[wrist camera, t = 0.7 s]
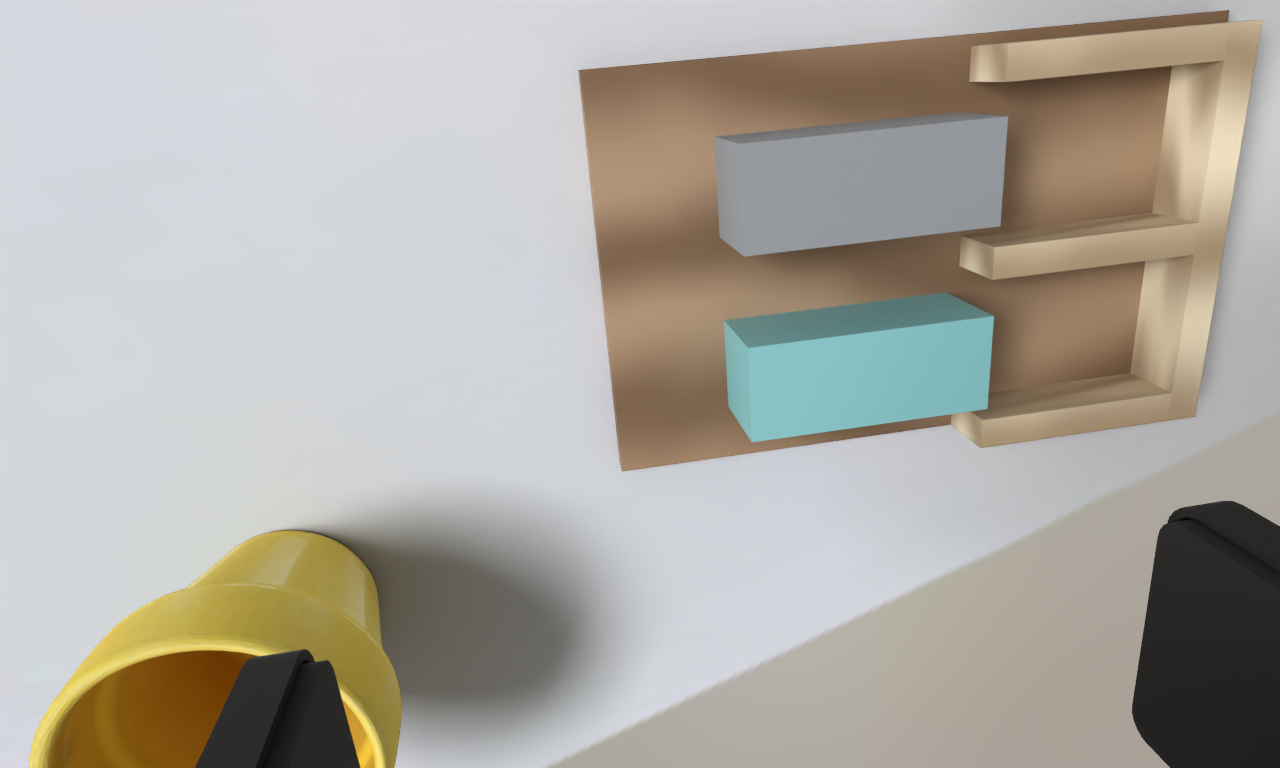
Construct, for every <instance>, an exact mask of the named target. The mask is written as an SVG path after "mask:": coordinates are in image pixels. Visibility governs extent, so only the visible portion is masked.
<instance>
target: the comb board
mask: <svg viewBox="0 0 1280 768" xmlns="http://www.w3.org/2000/svg"><path fill="white" fill-rule="evenodd" d="M1228 14H1229V10H1226V11H1215V12H1205V13H1194V14H1183V15H1172V16H1161V17H1150V18H1140V19H1129V20H1118V21H1107V22H1096V23H1085V24H1075V25H1064V26H1053V27H1042V28H1031V29H1020V30H1010V31H999V32H988V33H977V34H966V35H955V36H945V37H934V38H923V39H912V40H901V41H890V42H880V43H869V44H858V45H847V46H836V47H826V48H815V49H804V50H793V51H782V52H771V53H761V54H750V55H739V56H728V57H717V58H706V59H696V60H685V61H674V62H663V63H652V64H641V65H631V66H620V67H609V68H598V69H587V70H578V71H579V80H580V89H581V99H582V108H583V118H584V127H585V137H586V146H587V156H588V165H589V175H590V184H591V193H592V203H593V212H594V222H595V231H596V241H597V250H598V260H599V269H600V278H601V288H602V297H603V307H604V316H605V326H606V335H607V345H608V354H609V364H610V373H611V382H612V392H613V401H614V411H615V420H616V430H617V439H618V449H619V458H620V465H621V468H622V471H629V470H636V469H643V468H650V467H657V466H664V465H671V464H678V463H685V462H692V461H699V460H706V459H713V458H720V457H727V456H734V455H741V454H748V453H755V452H762V451H769V450H775V449H782V448H789V447H796V446H803V445H810V444H817V443H824V442H831V441H838V440H845V439H852V438H859V437H866V436H873V435H880V434H887V433H894V432H901V431H908V430H915V429H922V428H929V427H936V426H943V425H950V424H951V425H952V426H954V427H955V428H956V429H957V430H959V431H960V432H961V433H962V434H964V435H965V436H966V437H967V438H969V439H970V440H971V441H972V442H974V443H975V444H976V445H977V446H979V447H980V448H985V447H992V446H999V445H1006V444H1012V443H1019V442H1026V441H1033V440H1040V439H1046V438H1053V437H1060V436H1067V435H1074V434H1081V433H1087V432H1094V431H1101V430H1108V429H1115V428H1121V427H1128V426H1135V425H1142V424H1149V423H1155V422H1162V421H1169V420H1176V419H1183V418H1189V417H1195V413H1196V407H1197V401H1198V395H1199V389H1200V384H1201V378H1202V372H1203V366H1204V360H1205V354H1206V348H1207V342H1208V337H1209V331H1210V325H1211V319H1212V313H1213V307H1214V301H1215V295H1216V290H1217V284H1218V278H1219V272H1220V266H1221V260H1222V254H1223V248H1224V243H1225V237H1226V231H1227V225H1228V219H1229V213H1230V207H1231V201H1232V196H1233V190H1234V184H1235V178H1236V172H1237V166H1238V160H1239V154H1240V149H1241V143H1242V137H1243V131H1244V125H1245V119H1246V113H1247V107H1248V101H1249V96H1250V90H1251V84H1252V78H1253V72H1254V66H1255V60H1256V54H1257V49H1258V43H1259V37H1260V31H1261V25H1262V20H1251V21H1239V22H1227V21H1228ZM951 112H960V113H973V114H986V115H999V116H1008V126H1007V140H1006V154H1005V168H1004V182H1003V196H1002V210H1001V224H1000V226H999V227H991V228H982V229H974V230H965V231H957V232H948V233H940V234H931V235H923V236H914V237H906V238H897V239H889V240H880V241H872V242H864V243H855V244H847V245H838V246H830V247H821V248H813V249H804V250H796V251H787V252H779V253H770V254H762V255H753V256H745V257H744V256H743V255H742V254H740V253H739V252H738V251H736V250H735V249H734V248H733V247H731V246H730V245H729V244H727V243H726V242H725V241H724V240H722V239H721V238H720V233H719V214H718V194H717V175H716V156H715V137H716V136H726V135H736V134H746V133H755V132H765V131H775V130H785V129H795V128H804V127H814V126H824V125H834V124H843V123H853V122H863V121H873V120H882V119H892V118H902V117H912V116H922V115H931V114H941V113H951ZM945 292H946V293H948V294H950V295H953V296H955V297H957V298H959V299H961V300H963V301H965V302H967V303H969V304H971V305H973V306H975V307H977V308H979V309H981V310H983V311H985V312H987V313H989V314H991V315H993V316H994V323H993V337H992V351H991V365H990V379H989V393H988V407H987V409H984V410H977V411H970V412H963V413H956V414H949V415H942V416H934V417H927V418H920V419H913V420H906V421H899V422H892V423H885V424H878V425H871V426H864V427H857V428H850V429H843V430H836V431H829V432H822V433H815V434H808V435H801V436H794V437H787V438H779V439H772V440H765V441H758V442H751V440H750V439H749V437H748V436H747V434H746V433H745V431H744V430H743V428H742V426H741V425H740V423H739V422H738V420H737V419H736V417H735V416H734V414H733V413H732V411H731V410H730V408H729V407H728V388H727V369H726V349H725V330H724V320H730V319H738V318H746V317H754V316H762V315H770V314H778V313H786V312H794V311H802V310H810V309H818V308H826V307H833V306H841V305H849V304H857V303H865V302H873V301H881V300H889V299H897V298H905V297H913V296H921V295H929V294H937V293H945Z"/></svg>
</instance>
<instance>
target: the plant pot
mask: <svg viewBox="0 0 1280 768" xmlns="http://www.w3.org/2000/svg"><path fill="white" fill-rule="evenodd" d="M302 649H306V650H308V651H310V653H311V654H312V656H313V658H314V660H315V662H318V661H324V660H328V661H330V663H331V664H332V666H333V669H334V672H335V675H336V679H337V683H338V686H339V690H340V694H341V698H342V701H343V705H344V709H345V712H346V716H347V720H348V723H349V727H350V731H351V734H352V738H353V742H354V745H355V749H356V753H357V757H358V760H359V764H360V768H394V766H395V761H396V755H397V749H398V742H399V735H400V725H401V711H402V707H401V693H400V688H399V684H398V680H397V677H396V674H395V671H394V669H393V666H392V664H391V662H390V660H389V659H388V657H387V655H386V653H385V652H384V650H383V649H382V640H381V629H380V614H379V601H378V593H377V588H376V585H375V582H374V579H373V577H372V575H371V573H370V571H369V570H368V569H367V567H366V566H365V565H364V563H363V562H362V561H361V560H360V559H359V557H357V556H356V555H355V554H354V553H353V552H352V551H351V550H349V549H348V548H347V547H345V546H344V545H342V544H340V543H338V542H337V541H335V540H333V539H330V538H328V537H325V536H322V535H319V534H315V533H310V532H304V531H276V532H270V533H266V534H262V535H259V536H256V537H253V538H251V539H249V540H247V541H245V542H243V543H242V544H240V545H238V546H237V547H235V548H234V549H233V550H231V551H230V552H229V553H228V554H227V555H226V556H224V557H223V558H222V559H221V560H220V561H218V562H217V563H216V564H215V565H214V566H212V567H211V568H210V569H209V570H208V571H206V572H205V573H204V574H203V575H201V576H200V577H199V578H198V579H196V580H195V581H194V582H193V583H191V584H190V585H189V586H188V587H187V588H185V589H182V590H179V591H176V592H173V593H170V594H167V595H165V596H163V597H160V598H158V599H156V600H154V601H152V602H150V603H148V604H146V605H144V606H142V607H141V608H139V609H137V610H136V611H134V612H133V613H131V614H130V615H129V616H127V617H126V618H124V619H123V620H122V621H121V622H120V623H118V624H117V625H116V626H115V627H114V628H113V629H112V630H111V631H110V632H109V633H108V634H107V635H106V636H105V637H104V638H103V639H102V641H101V642H100V643H99V644H98V645H97V646H96V647H95V648H94V650H93V651H92V652H91V653H90V654H89V655H88V657H87V658H86V659H85V660H84V661H83V663H82V664H81V665H80V666H79V667H78V669H77V670H76V671H75V673H74V674H73V675H72V677H71V678H70V679H69V681H68V682H67V683H66V685H65V686H64V687H63V689H62V690H61V691H60V693H59V694H58V695H57V697H56V698H55V700H54V701H53V702H52V704H51V705H50V706H49V708H48V710H47V711H46V713H45V715H44V716H43V718H42V720H41V722H40V725H39V727H38V729H37V731H36V734H35V737H34V740H33V744H32V749H31V754H30V761H29V768H195V767H196V765H197V762H198V760H199V758H200V756H201V754H202V752H203V750H204V748H205V745H206V743H207V741H208V739H209V737H210V735H211V733H212V730H213V728H214V726H215V724H216V722H217V720H218V718H219V716H220V713H221V711H222V709H223V707H224V705H225V703H226V701H227V699H228V696H229V694H230V692H231V690H232V688H233V686H234V684H235V682H236V679H237V677H238V675H239V673H240V671H241V669H242V667H243V665H244V664H245V662H246V661H247V660H248V659H250V658H253V657H259V656H265V655H271V654H277V653H284V652H290V651H296V650H302Z"/></svg>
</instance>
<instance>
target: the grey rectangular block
mask: <svg viewBox="0 0 1280 768" xmlns="http://www.w3.org/2000/svg"><path fill="white" fill-rule="evenodd" d="M1007 126H1008V116H999V115H986V114H973V113H960V112H951V113H941V114H931V115H922V116H912V117H902V118H892V119H882V120H873V121H863V122H853V123H843V124H834V125H824V126H814V127H804V128H795V129H785V130H775V131H765V132H755V133H746V134H736V135H726V136H716V137H715V156H716V175H717V194H718V214H719V233H720V238H721V239H722V240H724V241H725V242H726V243H727V244H729V245H730V246H731V247H733V248H734V249H735V250H736V251H738V252H739V253H740V254H742V255H743V256H744V257H745V256H753V255H762V254H770V253H779V252H787V251H796V250H804V249H813V248H821V247H830V246H838V245H847V244H855V243H864V242H872V241H880V240H889V239H897V238H906V237H914V236H923V235H931V234H940V233H948V232H957V231H965V230H974V229H982V228H991V227H999V226H1000V224H1001V210H1002V196H1003V182H1004V168H1005V154H1006V140H1007Z"/></svg>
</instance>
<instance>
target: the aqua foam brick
mask: <svg viewBox="0 0 1280 768" xmlns="http://www.w3.org/2000/svg"><path fill="white" fill-rule="evenodd" d="M993 323H994V316H993V315H991V314H989V313H987V312H985V311H983V310H981V309H979V308H977V307H975V306H973V305H971V304H969V303H967V302H965V301H963V300H961V299H959V298H957V297H955V296H953V295H950V294H948V293H946V292H945V293H937V294H929V295H921V296H913V297H905V298H897V299H889V300H881V301H873V302H865V303H857V304H849V305H841V306H833V307H826V308H818V309H810V310H802V311H794V312H786V313H778V314H770V315H762V316H754V317H746V318H738V319H730V320H724V330H725V349H726V369H727V388H728V407H729V408H730V410H731V411H732V413H733V414H734V416H735V417H736V419H737V420H738V422H739V423H740V425H741V426H742V428H743V430H744V431H745V433H746V434H747V436H748V437H749V439H750V440H751V442H758V441H765V440H772V439H779V438H787V437H794V436H801V435H808V434H815V433H822V432H829V431H836V430H843V429H850V428H857V427H864V426H871V425H878V424H885V423H892V422H899V421H906V420H913V419H920V418H927V417H934V416H942V415H949V414H956V413H963V412H970V411H977V410H984V409H987V407H988V393H989V379H990V365H991V351H992V337H993Z"/></svg>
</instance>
